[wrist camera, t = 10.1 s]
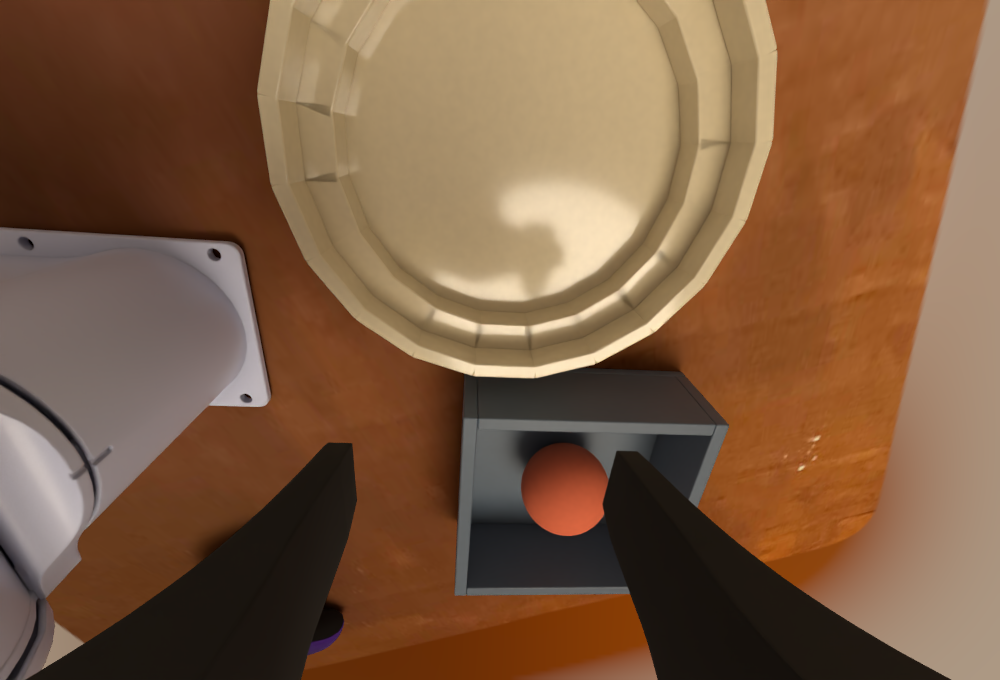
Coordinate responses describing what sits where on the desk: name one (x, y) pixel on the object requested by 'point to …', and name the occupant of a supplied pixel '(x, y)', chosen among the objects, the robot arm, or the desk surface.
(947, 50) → the desk surface
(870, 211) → the desk surface
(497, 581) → the bin
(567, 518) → the toy ball
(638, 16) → the bowl
